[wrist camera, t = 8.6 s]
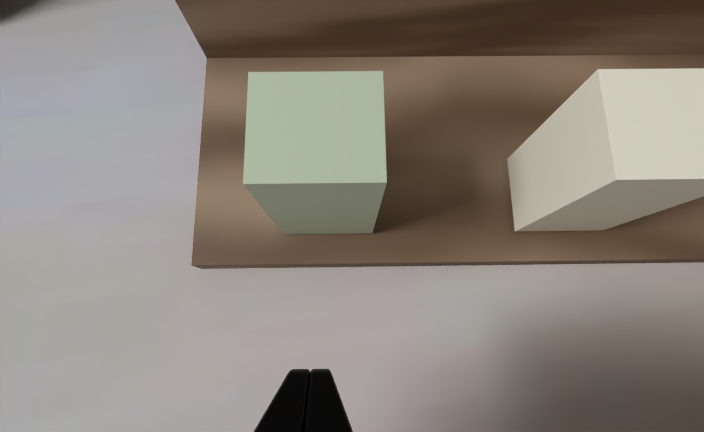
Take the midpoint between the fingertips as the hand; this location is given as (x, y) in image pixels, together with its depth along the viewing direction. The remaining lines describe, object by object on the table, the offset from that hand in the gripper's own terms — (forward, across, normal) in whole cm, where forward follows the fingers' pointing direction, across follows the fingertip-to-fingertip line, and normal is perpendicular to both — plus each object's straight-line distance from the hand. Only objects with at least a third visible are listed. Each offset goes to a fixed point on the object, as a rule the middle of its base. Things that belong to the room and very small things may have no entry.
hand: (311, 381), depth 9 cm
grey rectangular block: (+14, -12, +3) cm, 18 cm away
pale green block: (+14, 0, +3) cm, 14 cm away
